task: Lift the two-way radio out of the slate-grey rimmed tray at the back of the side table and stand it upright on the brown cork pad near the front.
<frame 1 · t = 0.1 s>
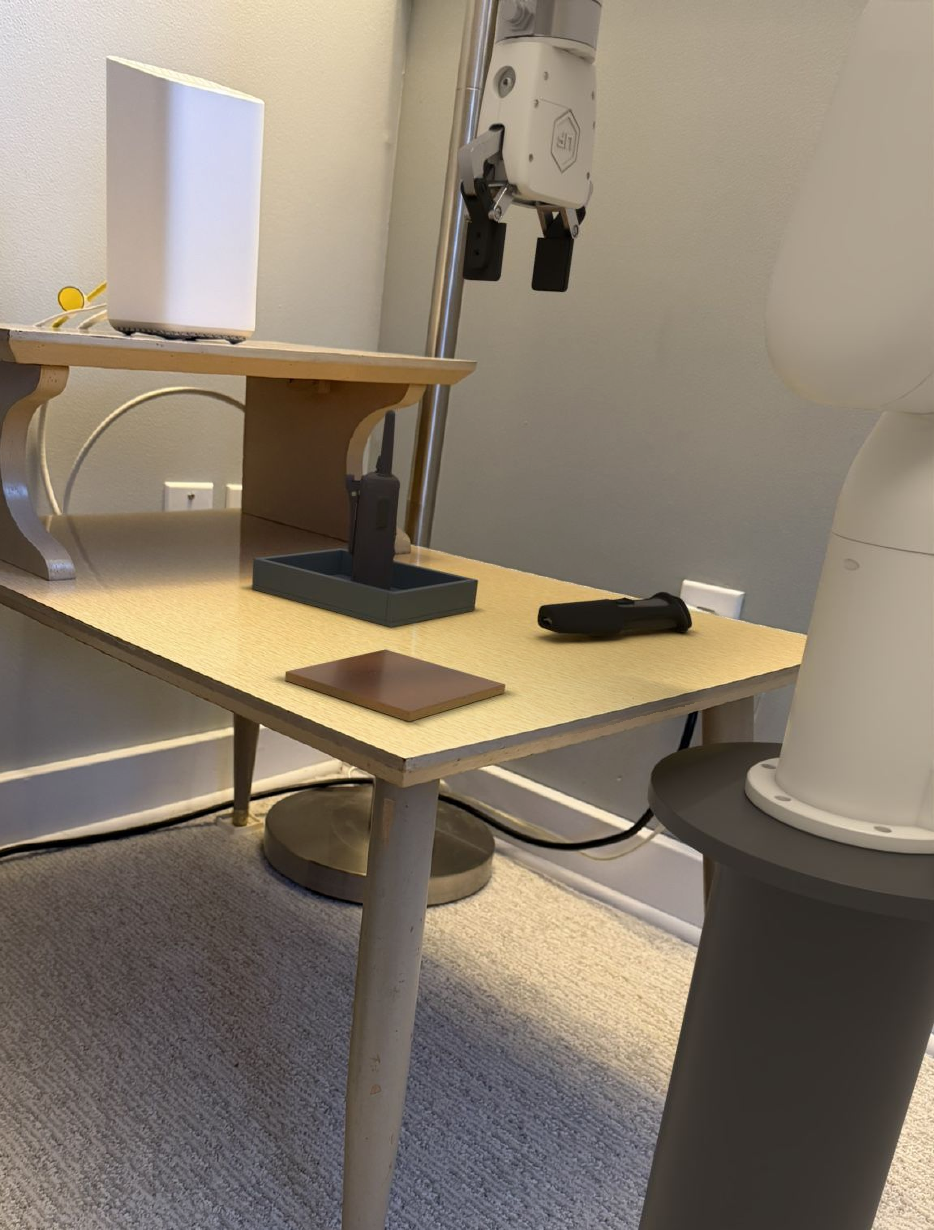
hand: (516, 285, 92), 25 cm above the table, tool pointing down, fingers open, 9 cm apart
two-way radio: (362, 597, 98), resting on tray
tray: (362, 599, 98), on the table
electric trimmer: (615, 637, 93), on the table
cork pad: (395, 686, 74), on the table
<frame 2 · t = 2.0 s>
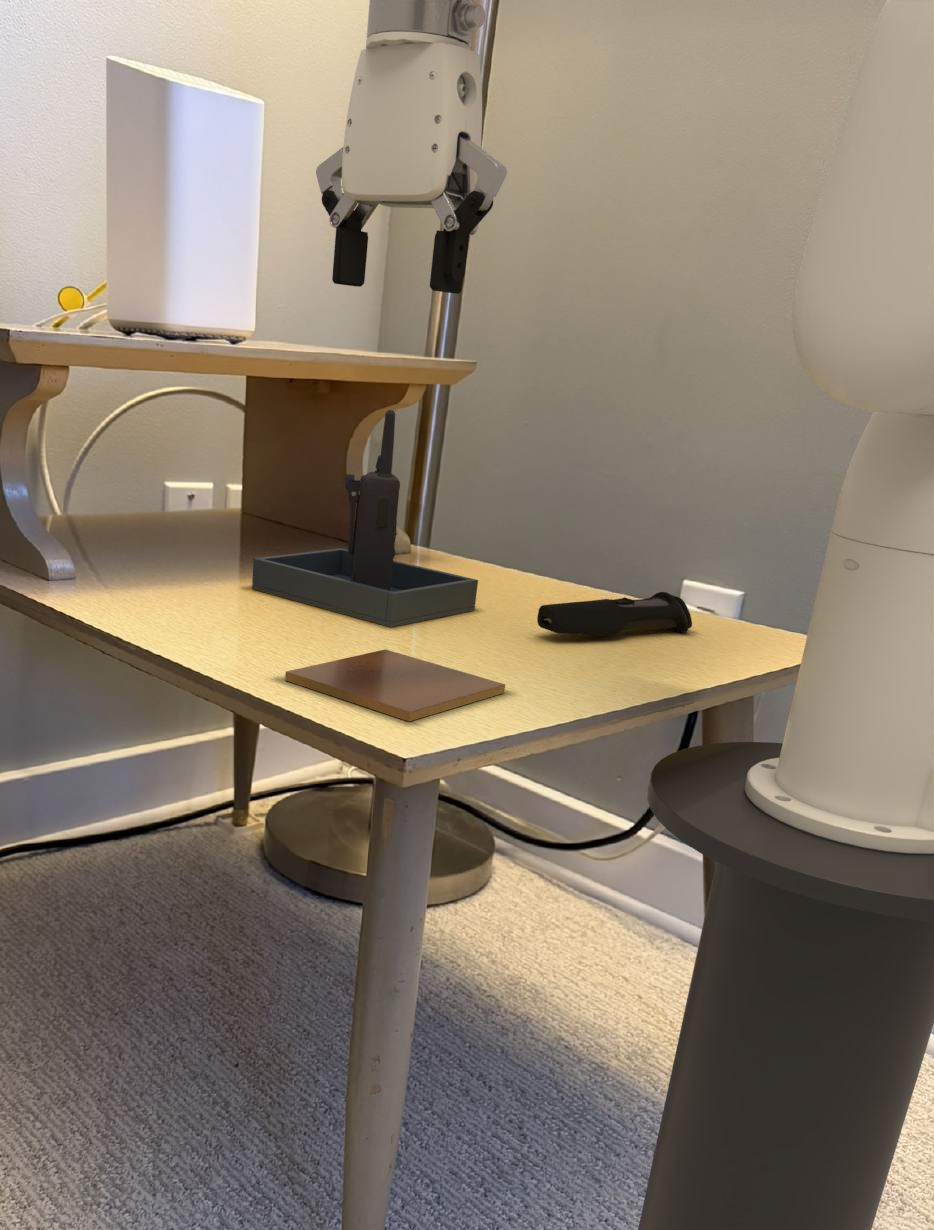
hand: (395, 288, 89), 24 cm above the table, tool pointing down, fingers open, 9 cm apart
nothing on the table moved.
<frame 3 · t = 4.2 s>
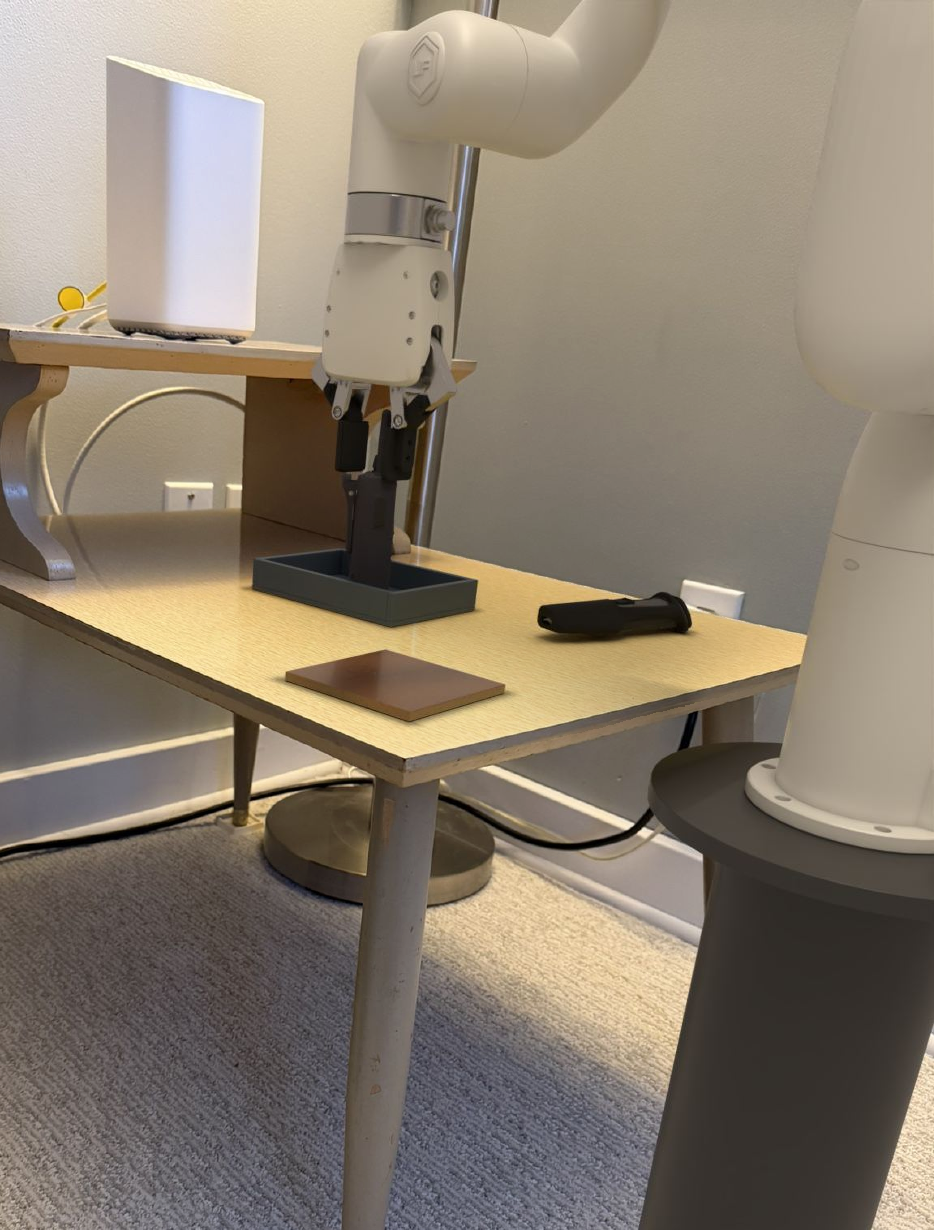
hand: (372, 473, 94), 10 cm above the table, tool pointing down, fingers closed on two-way radio, 4 cm apart
two-way radio: (361, 596, 98), resting on tray, touching gripper
everything else where it was.
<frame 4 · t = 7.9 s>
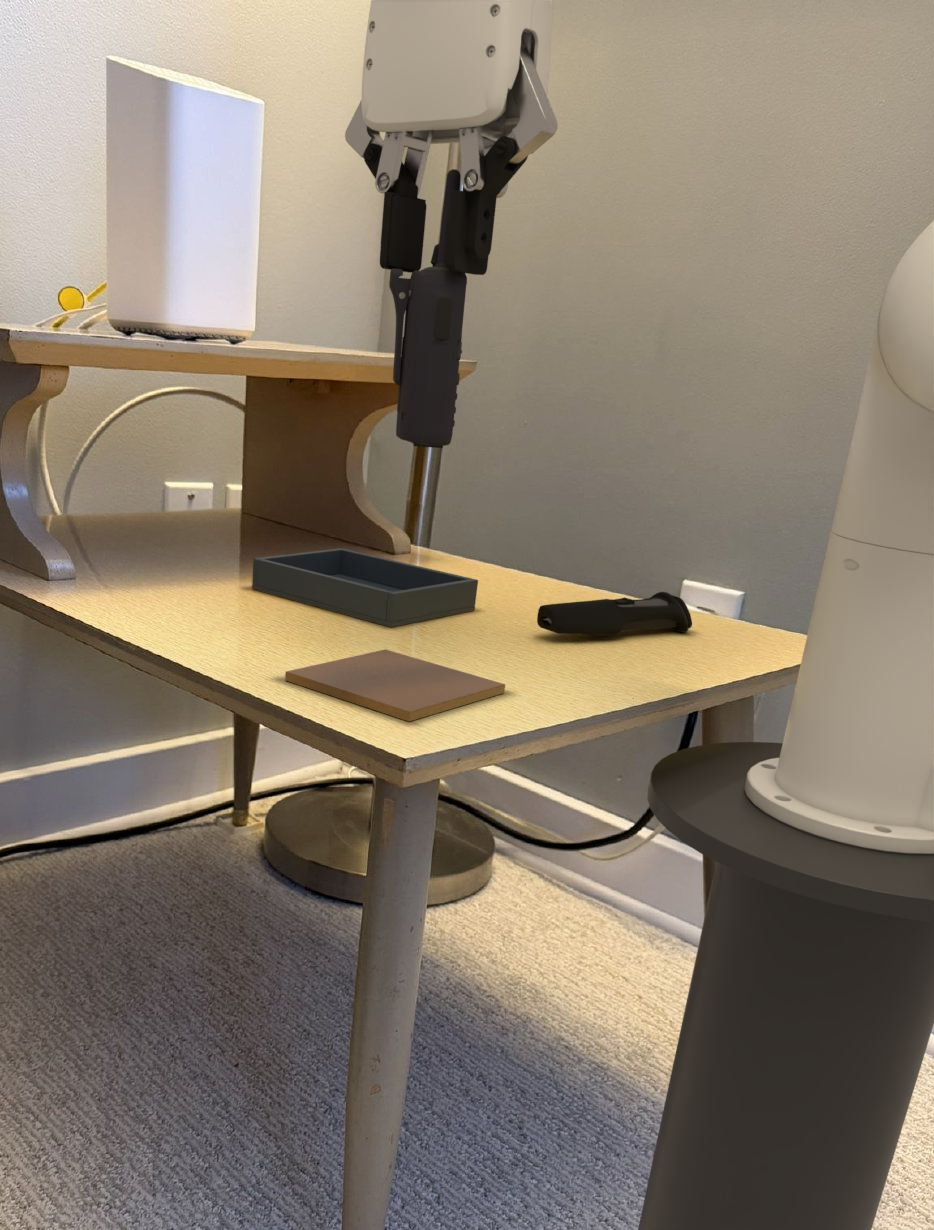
hand: (432, 267, 68), 25 cm above the table, tool pointing down, fingers closed on two-way radio, 4 cm apart
two-way radio: (413, 447, 71), point 15 cm above the table, touching gripper
everything else where it was.
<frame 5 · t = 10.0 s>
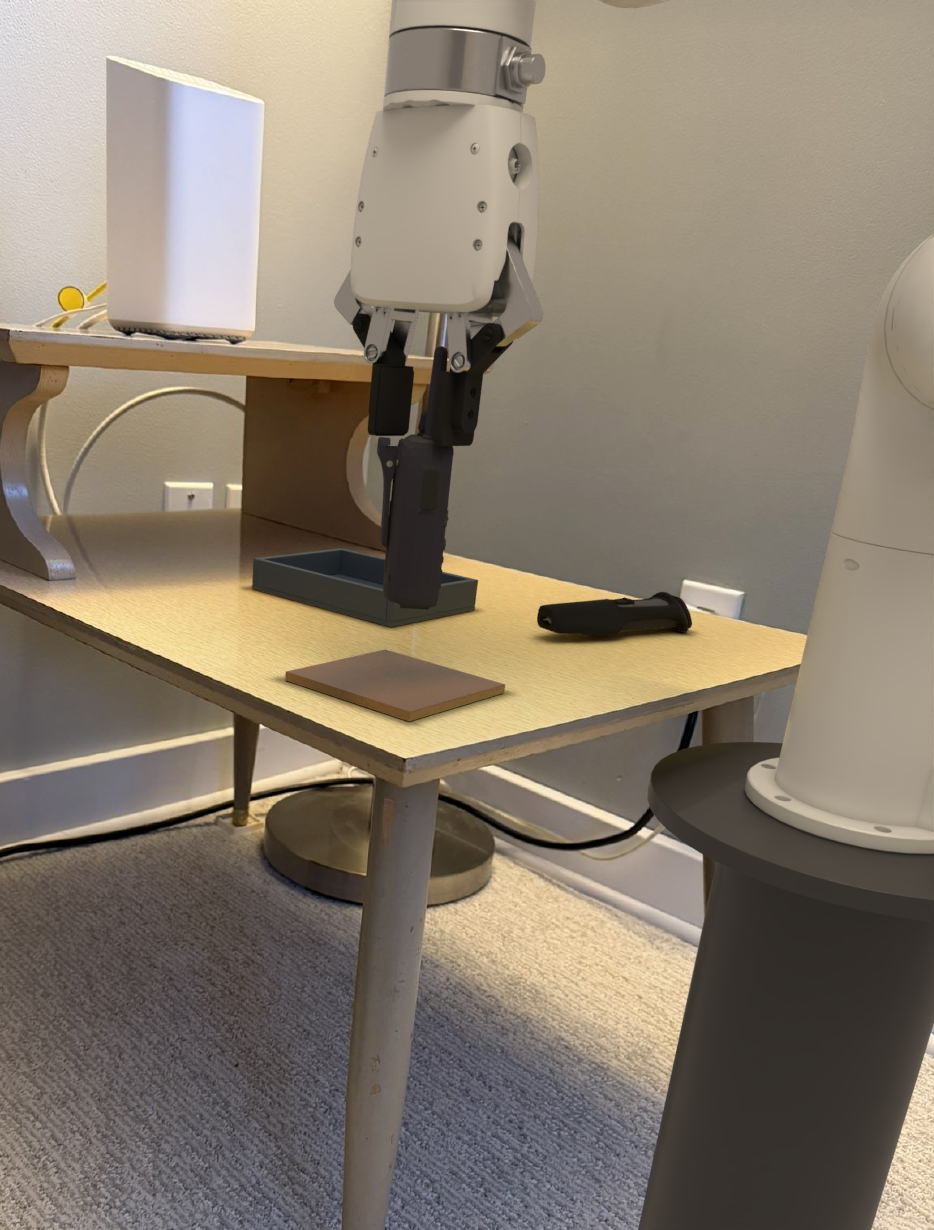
hand: (419, 436, 69), 15 cm above the table, tool pointing down, fingers closed on two-way radio, 4 cm apart
two-way radio: (400, 605, 72), point 5 cm above the table, touching gripper
everything else where it was.
when the fingers open (11 cm above the table, at t = 11.5 s): two-way radio stays where it is, resting on cork pad.
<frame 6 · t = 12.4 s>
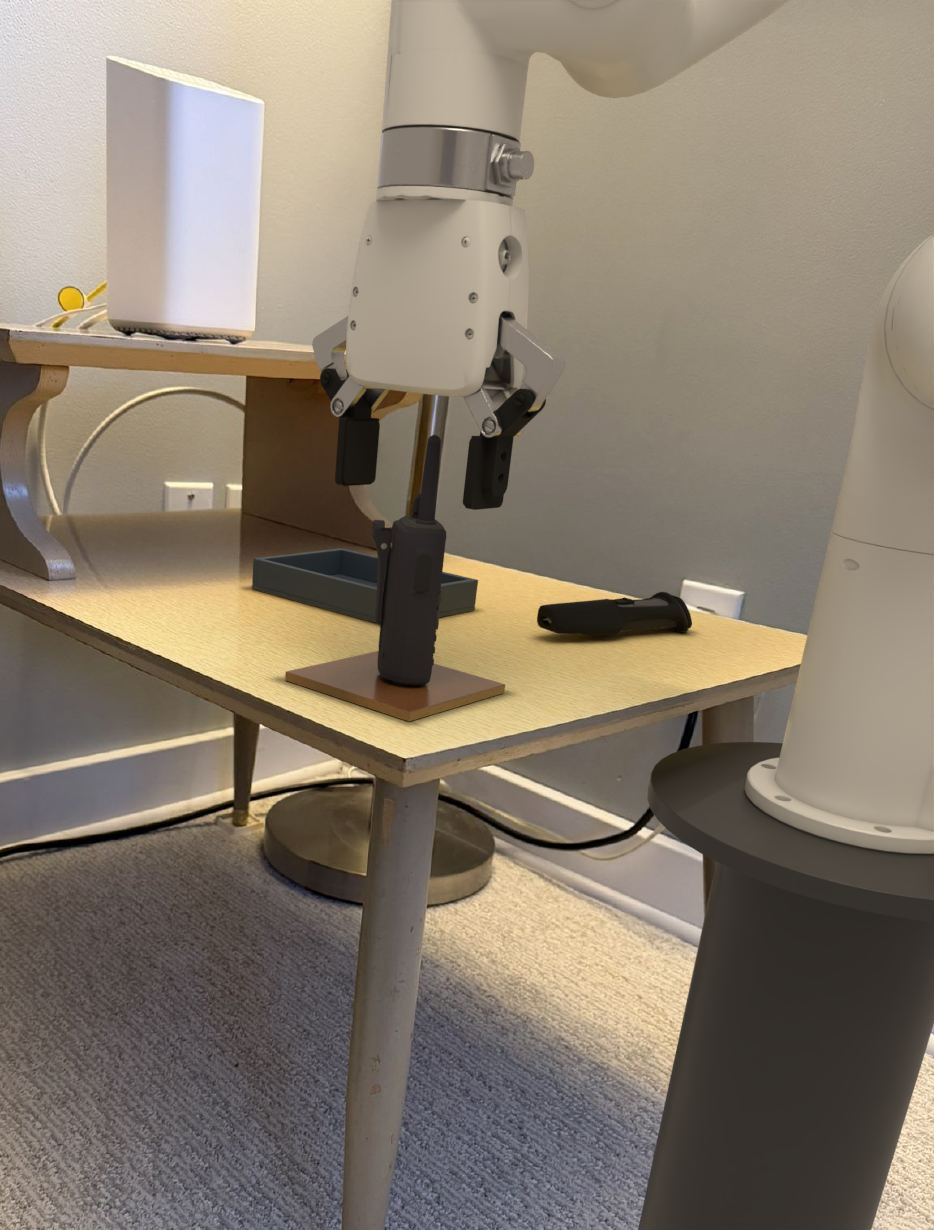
hand: (416, 495, 70), 12 cm above the table, tool pointing down, fingers open, 9 cm apart
two-way radio: (394, 680, 74), resting on cork pad
everything else where it was.
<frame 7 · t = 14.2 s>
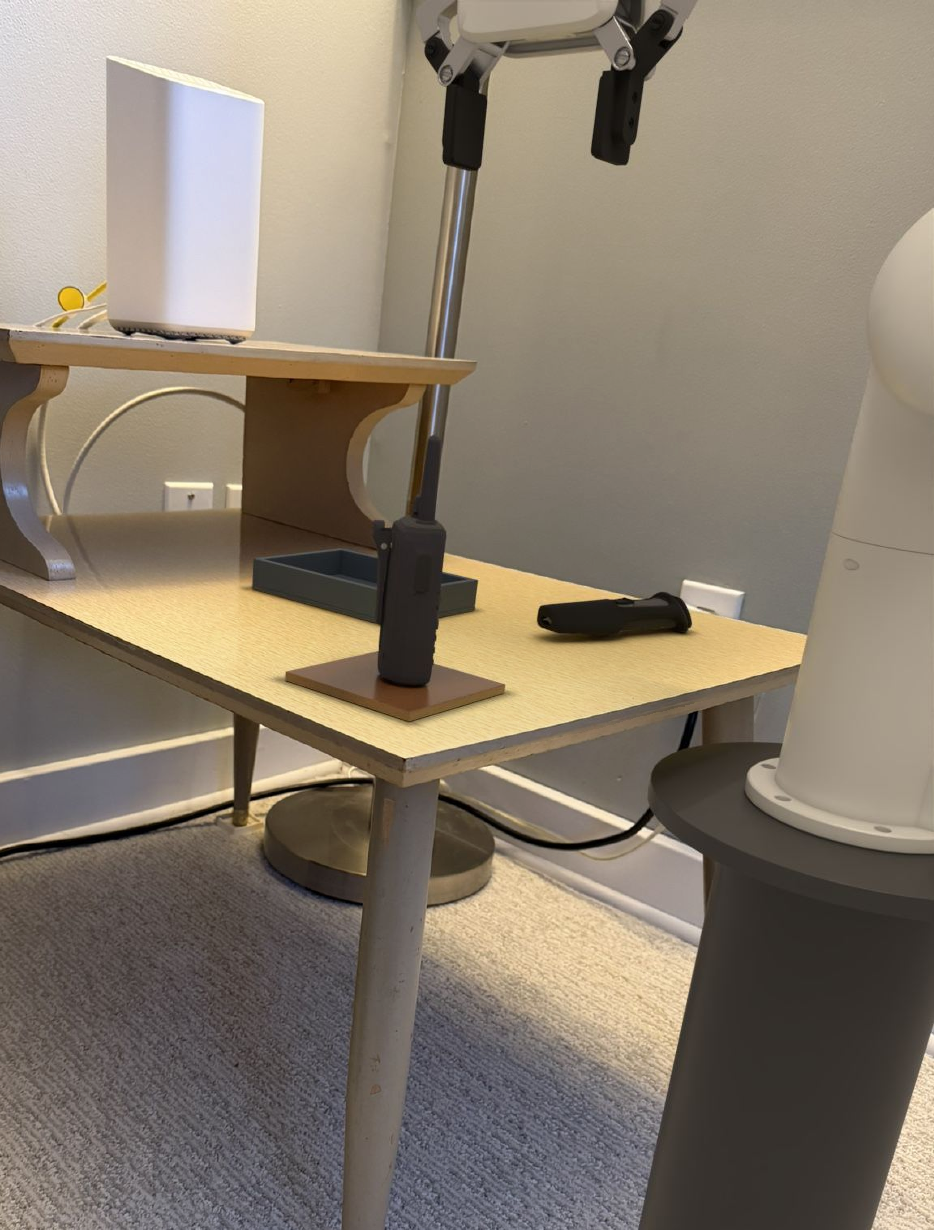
hand: (532, 164, 66), 30 cm above the table, tool pointing down, fingers open, 9 cm apart
nothing on the table moved.
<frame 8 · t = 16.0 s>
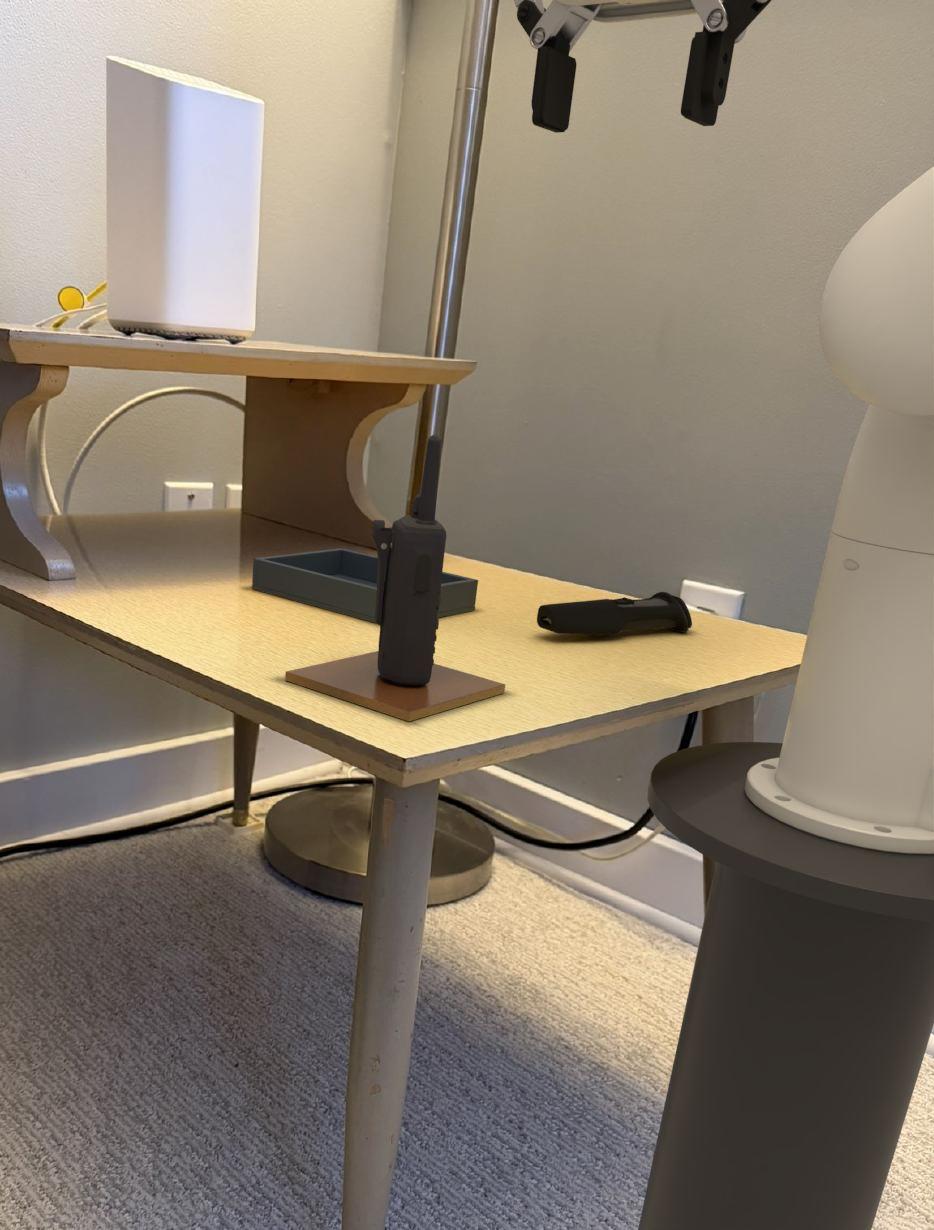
hand: (620, 124, 68), 33 cm above the table, tool pointing down, fingers open, 9 cm apart
nothing on the table moved.
at the end: two-way radio inside the target area on the cork pad (0.1 cm from its centre), point 0.4 cm above the cork pad's base; two-way radio tilted 0°; two-way radio touching cork pad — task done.
